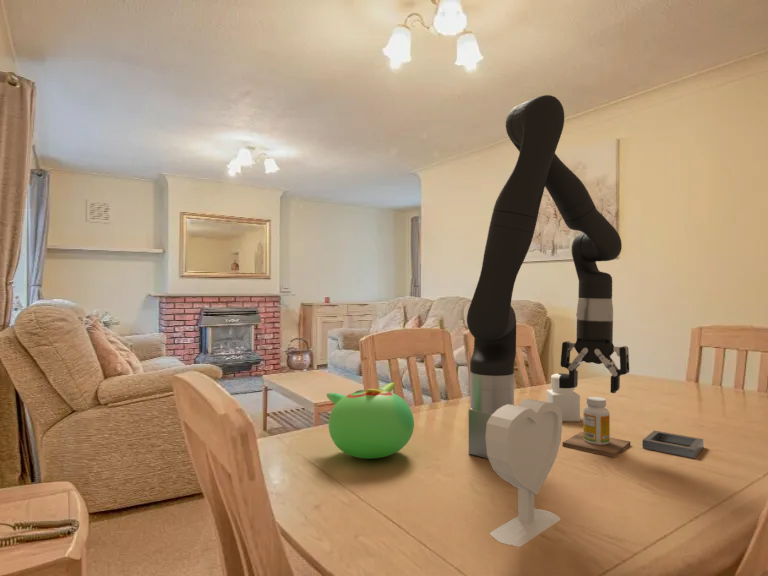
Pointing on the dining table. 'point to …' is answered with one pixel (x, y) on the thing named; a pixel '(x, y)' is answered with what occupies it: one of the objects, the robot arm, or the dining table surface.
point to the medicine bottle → (564, 397)
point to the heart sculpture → (524, 462)
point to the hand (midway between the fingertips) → (593, 389)
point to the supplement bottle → (596, 421)
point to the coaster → (609, 449)
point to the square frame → (654, 444)
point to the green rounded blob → (370, 422)
